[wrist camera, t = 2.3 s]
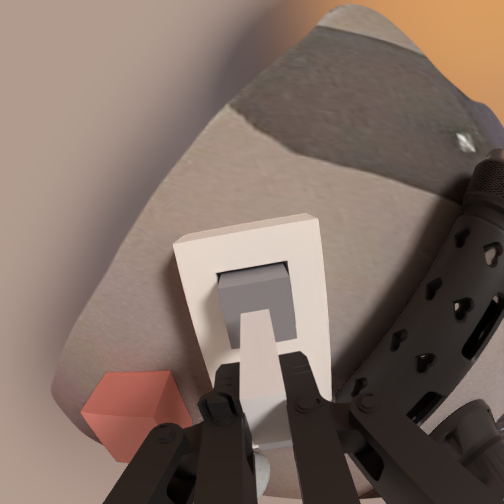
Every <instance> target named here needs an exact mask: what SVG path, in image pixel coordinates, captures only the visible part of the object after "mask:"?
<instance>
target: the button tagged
mask: <svg viewBox="0 0 504 504" xmlns="http://www.w3.org/2000/svg"><path fill="white" fill-rule="evenodd" d="M217 291H218V295H219V299H220V304H221V308H222V312H223V316H224V321H225V325H226V329H227V333H228V337H229V341H230V345H231V349H238V348H240V322H241V313H248V312H254V311H259V310H265V309H269V312H270V317H271V322H272V327H273V332H274V337H275V342H281V341H287V340H292V339H297V332H296V324H295V316H294V308H293V301H292V293H291V286H290V279H289V275H288V273H287V271H286V269H285V267H284V265H283V263H282V261H281V262H275V263H270V264H264V265H258V266H253V267H247V268H241V269H235V270H229V271H224V272H222V273H221V276H220V280H219V284H218V287H217Z"/></svg>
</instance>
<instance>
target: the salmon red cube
mask: <svg viewBox="0 0 504 504" xmlns="http://www.w3.org/2000/svg"><path fill="white" fill-rule="evenodd" d="M81 414H82V415H83V417H84V418H85V420H86V421H87V423H88V424H89V426H90V427H91V428H92V430H93V431H94V433H95V434H96V435H97V437H98V438H99V440H100V441H101V442H102V444H103V445H104V446H105V447H106V449H107V450H108V451H109V452H110V454H111V455H112V456H113V458H114V459H115V460H116V461H117V462H124V463H130V461H131V460H132V458H133V457H134V455H135V454H136V452H137V451H138V449H139V448H140V446H141V445H142V443H143V441H144V440H145V438H146V437H147V435H148V434H149V432H150V431H151V430H152V429H153V428H154V427H156V426H157V425H159V424H163V423H175V424H178V425H179V426H180V427H181V428H182V429H183V428H187V427H191V426H192V423H193V421H192V419H191V417H190V415H189V413H188V411H187V408H186V406H185V404H184V402H183V399H182V397H181V395H180V392H179V390H178V388H177V385H176V383H175V380H174V378H173V375H172V373H171V370H168V371H149V372H106V374H105V375H104V377H103V378H102V380H101V381H100V383H99V384H98V386H97V387H96V389H95V390H94V392H93V393H92V395H91V396H90V398H89V399H88V401H87V403H86V404H85V406H84V407H83V409H82V410H81Z"/></svg>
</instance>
